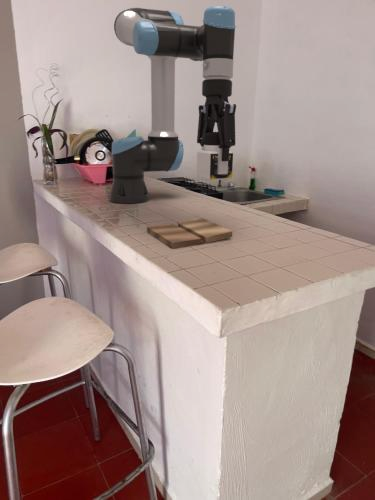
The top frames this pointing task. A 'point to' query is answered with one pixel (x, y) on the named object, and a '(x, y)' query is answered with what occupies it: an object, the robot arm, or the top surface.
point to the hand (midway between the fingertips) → (214, 172)
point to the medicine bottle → (212, 159)
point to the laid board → (174, 236)
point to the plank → (205, 229)
